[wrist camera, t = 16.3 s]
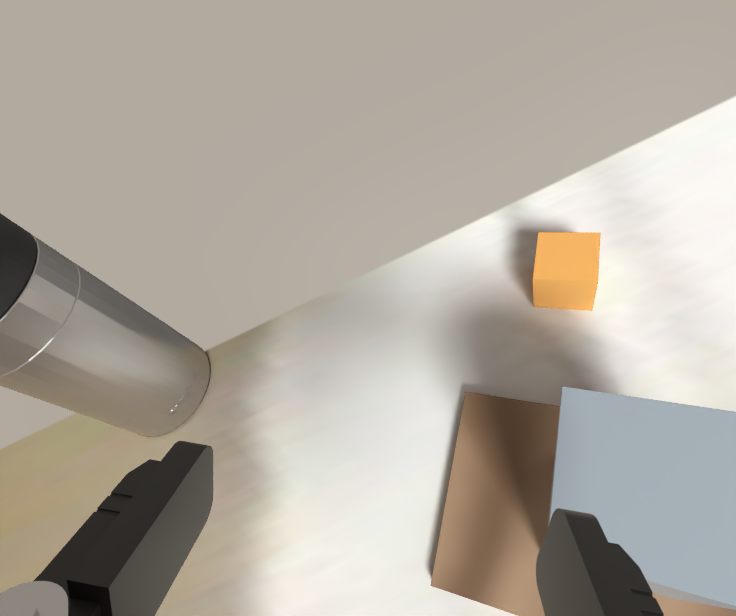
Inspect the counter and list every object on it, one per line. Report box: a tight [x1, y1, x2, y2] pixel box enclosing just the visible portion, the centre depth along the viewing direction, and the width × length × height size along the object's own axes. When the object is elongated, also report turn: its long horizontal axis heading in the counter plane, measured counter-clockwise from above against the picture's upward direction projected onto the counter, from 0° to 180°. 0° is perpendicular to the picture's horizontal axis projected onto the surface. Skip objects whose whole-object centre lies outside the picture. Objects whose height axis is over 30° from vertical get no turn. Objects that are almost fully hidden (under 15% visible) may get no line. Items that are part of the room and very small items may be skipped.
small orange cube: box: [533, 232, 600, 311], centre depth 32 cm, size 4×4×4 cm
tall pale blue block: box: [548, 386, 736, 610], centre depth 20 cm, size 6×6×12 cm
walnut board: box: [431, 392, 736, 616], centre depth 25 cm, size 18×12×1 cm, turn 76°
